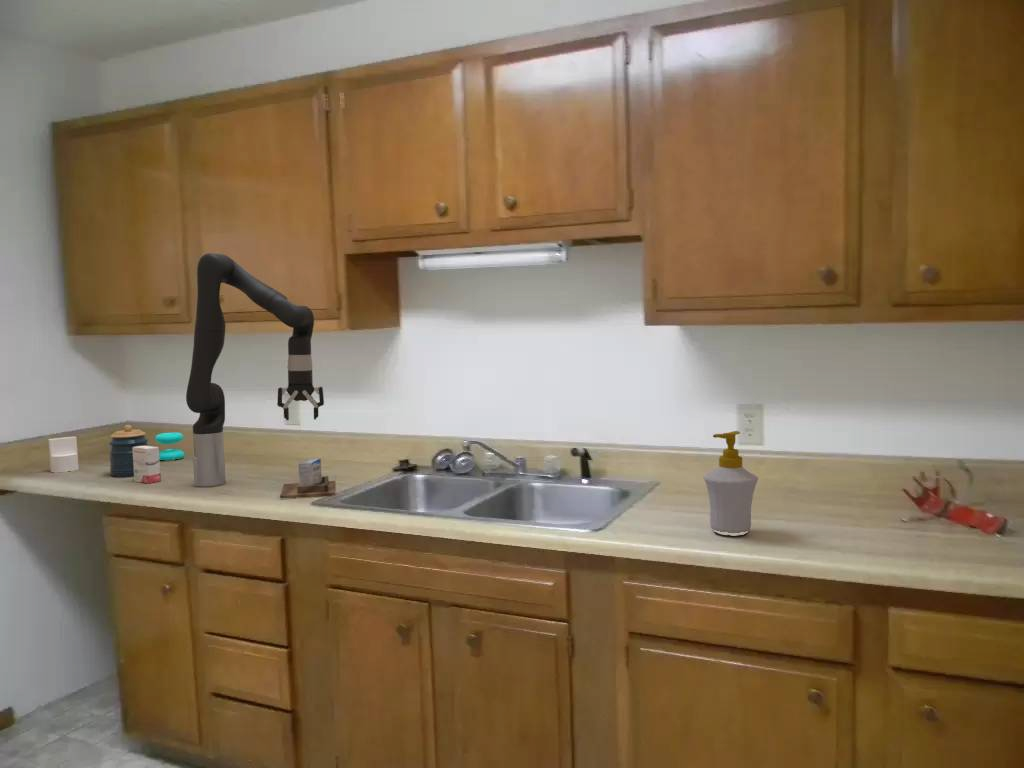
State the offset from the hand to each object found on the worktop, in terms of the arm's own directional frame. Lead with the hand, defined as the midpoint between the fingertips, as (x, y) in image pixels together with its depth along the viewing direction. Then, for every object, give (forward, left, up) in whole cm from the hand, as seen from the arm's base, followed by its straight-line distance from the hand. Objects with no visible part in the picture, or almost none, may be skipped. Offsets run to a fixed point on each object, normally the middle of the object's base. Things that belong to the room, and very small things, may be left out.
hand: (301, 419), depth 260 cm
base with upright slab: (-87, +56, -22) cm, 106 cm away
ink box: (-52, +25, -22) cm, 62 cm away
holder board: (+2, -8, -22) cm, 23 cm away
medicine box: (+2, -8, -21) cm, 22 cm away
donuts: (-53, +69, -22) cm, 90 cm away
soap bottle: (+104, -88, -22) cm, 138 cm away
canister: (-61, +41, -22) cm, 77 cm away
